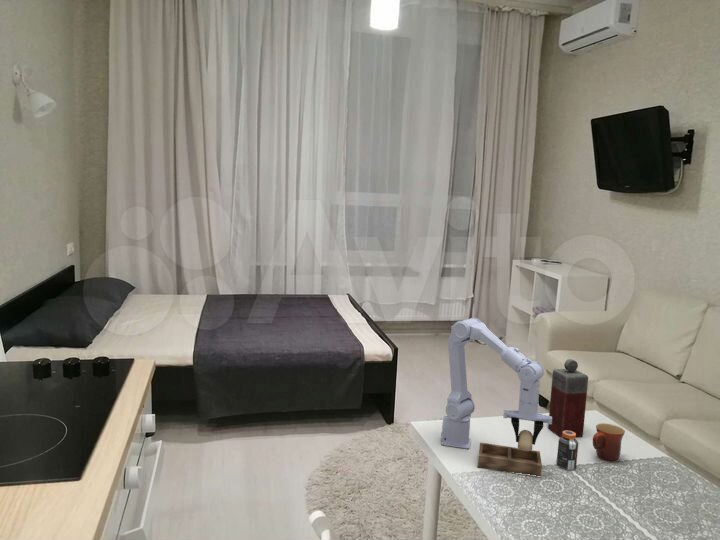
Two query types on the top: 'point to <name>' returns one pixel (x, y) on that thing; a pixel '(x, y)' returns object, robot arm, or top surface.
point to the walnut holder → (509, 459)
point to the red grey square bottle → (568, 399)
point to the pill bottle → (567, 450)
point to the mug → (608, 441)
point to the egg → (525, 440)
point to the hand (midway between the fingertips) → (525, 442)
